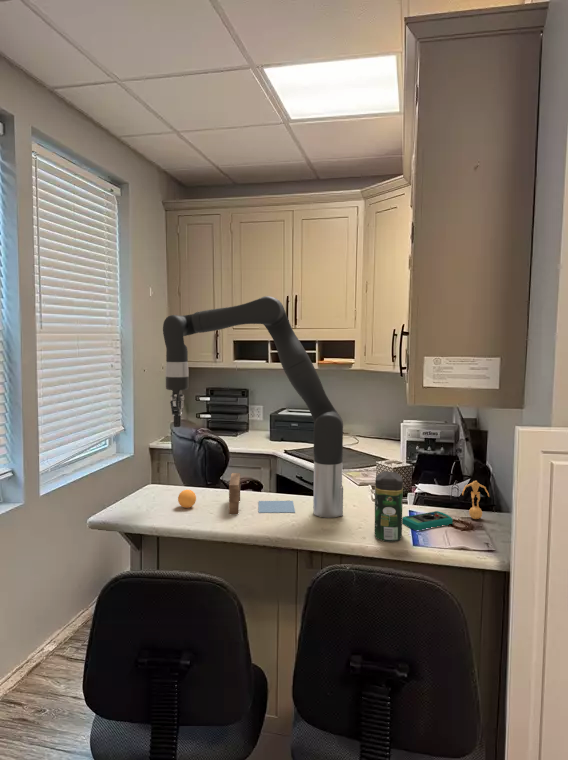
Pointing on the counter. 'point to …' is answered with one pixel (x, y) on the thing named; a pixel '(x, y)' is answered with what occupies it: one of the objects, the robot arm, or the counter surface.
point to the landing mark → (276, 507)
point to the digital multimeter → (427, 520)
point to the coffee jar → (388, 506)
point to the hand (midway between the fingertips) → (177, 426)
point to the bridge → (234, 493)
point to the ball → (187, 498)
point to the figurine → (475, 510)
